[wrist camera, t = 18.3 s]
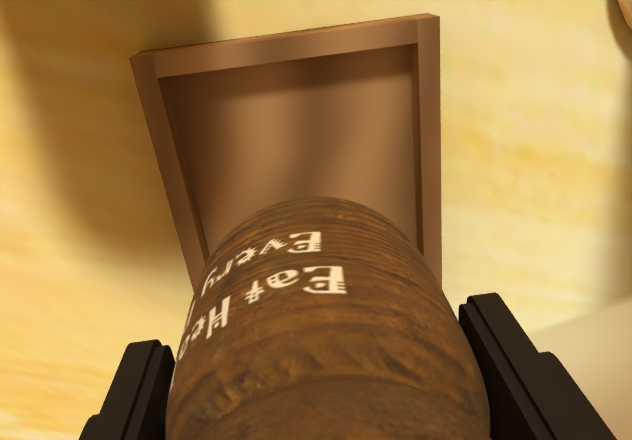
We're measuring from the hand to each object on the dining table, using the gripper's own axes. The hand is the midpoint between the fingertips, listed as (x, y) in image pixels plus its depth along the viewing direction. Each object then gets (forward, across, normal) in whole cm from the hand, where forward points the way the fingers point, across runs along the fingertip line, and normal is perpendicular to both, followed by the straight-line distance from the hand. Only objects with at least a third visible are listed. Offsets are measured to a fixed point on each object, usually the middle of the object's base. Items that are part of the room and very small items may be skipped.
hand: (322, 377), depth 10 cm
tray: (+18, 0, +4) cm, 18 cm away
